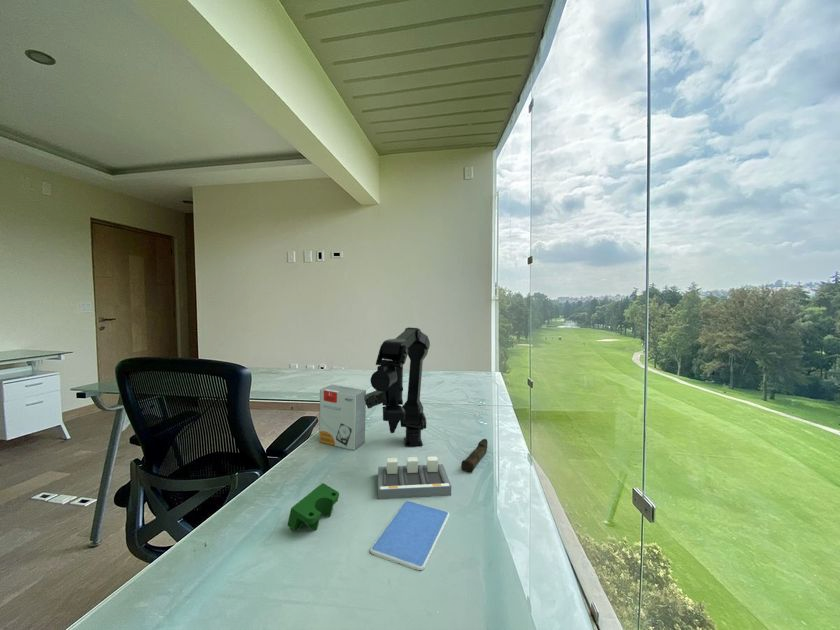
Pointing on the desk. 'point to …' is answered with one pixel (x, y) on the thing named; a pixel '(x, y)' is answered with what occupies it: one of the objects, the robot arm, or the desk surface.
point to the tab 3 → (432, 464)
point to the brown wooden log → (475, 456)
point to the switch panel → (413, 483)
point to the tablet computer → (411, 535)
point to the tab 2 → (412, 465)
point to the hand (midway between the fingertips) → (392, 432)
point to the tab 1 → (392, 465)
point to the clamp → (313, 507)
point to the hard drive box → (342, 416)
